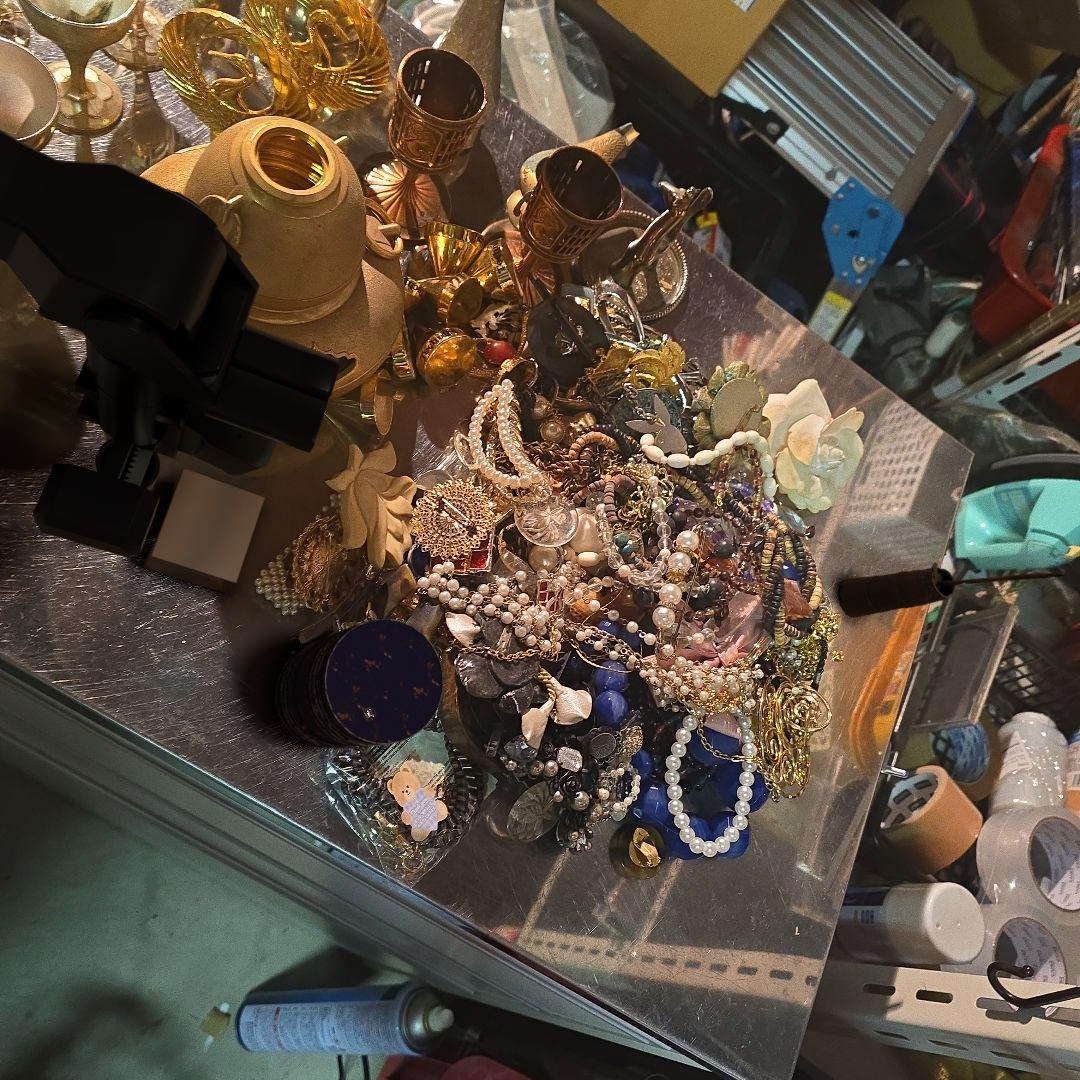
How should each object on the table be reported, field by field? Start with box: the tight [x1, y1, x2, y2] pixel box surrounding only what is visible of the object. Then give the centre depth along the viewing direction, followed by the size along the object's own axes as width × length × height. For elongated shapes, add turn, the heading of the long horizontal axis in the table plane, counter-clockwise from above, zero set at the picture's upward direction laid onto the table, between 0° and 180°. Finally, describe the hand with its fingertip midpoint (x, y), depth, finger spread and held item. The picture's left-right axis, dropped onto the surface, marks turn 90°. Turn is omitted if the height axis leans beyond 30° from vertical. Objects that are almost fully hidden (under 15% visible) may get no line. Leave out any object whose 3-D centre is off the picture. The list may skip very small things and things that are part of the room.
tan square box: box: [143, 467, 266, 594], centre depth 77 cm, size 7×8×5 cm
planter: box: [91, 437, 161, 491], centre depth 72 cm, size 4×4×10 cm
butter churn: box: [839, 562, 1065, 618], centre depth 107 cm, size 9×10×28 cm
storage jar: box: [275, 618, 445, 750], centre depth 75 cm, size 10×10×15 cm
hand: (135, 450), depth 65 cm, fingers open, 9 cm apart
